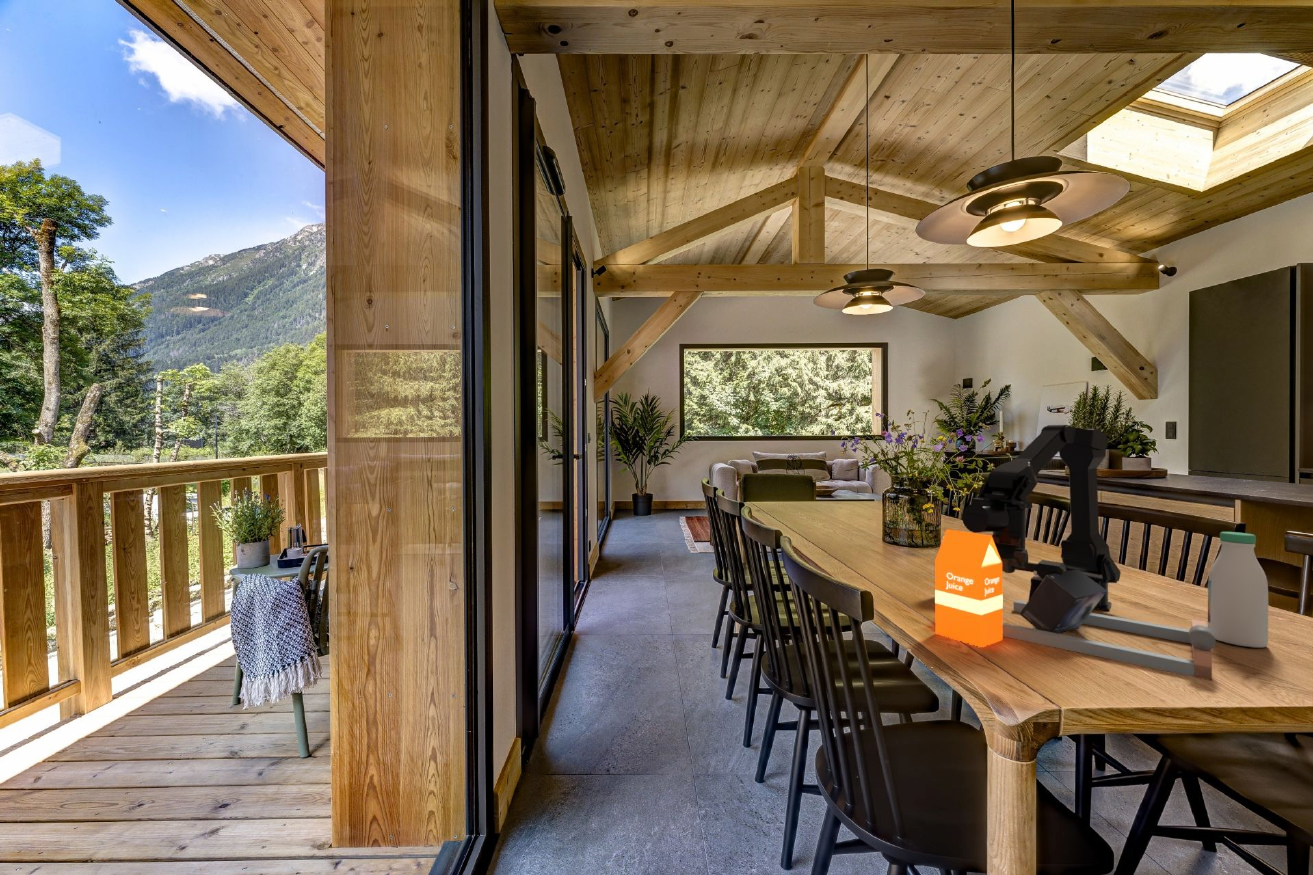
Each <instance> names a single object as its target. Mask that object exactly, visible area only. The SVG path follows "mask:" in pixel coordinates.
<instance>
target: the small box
mask: <svg viewBox="0 0 1313 875" xmlns="http://www.w3.org/2000/svg"><path fill="white" fill-rule="evenodd" d="M1106 592H1107V590H1106V589H1104V588H1103V587H1102V586H1100V585H1099V584H1097V583H1096V582H1094V581H1093V580H1092V579H1090V578H1089V577H1088V576H1086V575H1085V574H1084V573H1082V572H1081V571H1079V570H1078V569H1076V570H1071V571H1065V572H1063V573H1062V575H1059V574H1056V573H1055V574H1049V575H1046V576H1045V578H1044V579H1043V581H1042V582H1041V583H1040V585H1039V587H1038V588H1037V589H1036V591H1035V592H1034V594H1033V595H1032V597H1031V598H1030V600H1029V599H1028V600H1029V601H1028V600H1027V601H1026V602H1027V604H1026V605H1025V607H1024V608H1023V609H1022V611H1021V612H1018V613H1019V616H1021V617H1022V618H1023V619H1025V620H1026V621H1027V622H1028V623H1029V624H1030V625H1032V627H1034V629H1037V630H1042V631H1047V632H1052V633H1057V634H1063V633H1068V632H1069V633H1070V632H1072V631H1076V630H1079V629H1080V628H1081V626H1082V625H1083V624H1082V623H1083V622H1084V621H1085V619H1086V618H1087V617H1088V615H1089V614H1090V613H1092V612H1093V610H1094V609H1095V606H1096V605H1097V604H1098V602H1099V601H1100V600H1101V598H1102V597H1103V596H1104V595H1105V593H1106Z"/></svg>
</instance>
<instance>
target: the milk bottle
mask: <svg viewBox="0 0 1313 875" xmlns="http://www.w3.org/2000/svg"><path fill="white" fill-rule="evenodd" d="M1219 539H1220V542H1219V544H1221V547H1220V548H1221V549H1220V550H1219V554H1218V556H1216V557H1217V558H1216V559H1214V562H1213V563H1212V565H1211V567H1210V569H1209V574H1208V584H1207V586H1208V587H1207V627H1208V628H1209V629H1211V630H1212V632H1213V633H1214V636H1215V641H1216V640H1217V641H1219V642H1224V643H1226V644H1231V645H1235V646H1241V647H1248V648H1257V649H1258V648H1266V647H1268V645H1269V585H1268V579H1267V575H1266V572H1265V571H1264V569H1263V567H1262V566H1261V564H1260V563H1259V561H1258V559H1257V557H1256V553H1255V547H1256V543H1257V537H1256V535H1255V534H1252V533H1246V532H1245V533H1244V532H1236V531H1221V532H1220V533H1219Z"/></svg>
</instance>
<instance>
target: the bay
mask: <svg viewBox="0 0 1313 875" xmlns="http://www.w3.org/2000/svg"><path fill="white" fill-rule="evenodd" d="M1027 602H1028V601H1024V600H1018V599H1015V600H1014V601H1013V612H1016V613H1020V612H1021V611H1022V609H1023V608H1024V607H1025V605H1026V604H1027ZM1082 625H1086V626H1087V625H1088V626H1094V627H1100V628H1104V629H1110V630H1114V631H1115V630H1117V631H1120V632H1127V633H1132V634H1138V635H1143V636H1149V637H1154V638H1158V639H1164V640H1168V641H1169V640H1171V641H1175V642H1176V641H1177V642H1182V643H1186V644H1190V645H1191V649H1192V650H1191V651H1192V654H1191V655H1192V659H1188V658H1184V657H1180V656H1179V657H1178V656H1172V655H1169V654H1163V653H1157V652H1152V651H1148V650H1142V649H1138V648H1137V649H1136V648H1132V647H1127V646H1123V645H1117V644H1113V643H1106V642H1102V641H1097V640H1092V639H1087V638H1082V637H1077V636H1072V635H1065V634H1063V633H1061V634H1057V633H1052V632H1047V631H1042V630H1038V629H1036V628H1031V627H1028V626H1027V627H1026V626H1021V625H1015V624H1010V623H1007V622H1003V638H1004V637H1005V638H1010V639H1014V640H1019V641H1023V642H1028V643H1033V644H1038V645H1043V646H1047V647H1052V648H1055V649H1056V648H1057V649H1060V650H1067V651H1071V652H1076V653H1081V654H1085V655H1089V656H1095V657H1097V658H1099V657H1100V658H1103V659H1109V660H1113V661H1118V662H1123V663H1128V664H1132V665H1137V666H1141V667H1146V668H1151V669H1154V670H1155V669H1156V670H1161V671H1165V672H1171V673H1173V674H1174V673H1175V674H1178V675H1179V674H1180V675H1184V676H1189V677H1192V678H1193V677H1194V678H1198V679H1202V678H1203V680H1208V681H1212V680H1213V679H1212V677H1213V675H1212V674H1213V672H1212V670H1213V667H1212V664H1213V663H1212V662H1213V658H1212V656H1213V655H1212V650H1213V649H1215V647H1216V645H1217V643H1216V639H1215V636H1214V633H1213V632H1212V630H1211V629H1209V628H1208V621H1204V620H1198V619H1191V627H1190V628H1189V629H1188V628H1182V627H1176V626H1170V625H1164V624H1158V623H1154V622H1147V621H1142V620H1136V619H1130V618H1129V619H1128V618H1124V617H1118V616H1112V615H1106V614H1100V613H1095V612H1091V613H1090V614H1089V615H1088V617H1087V618H1086V619H1085V621H1084V622H1083V623H1082Z"/></svg>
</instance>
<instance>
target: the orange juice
mask: <svg viewBox="0 0 1313 875" xmlns="http://www.w3.org/2000/svg"><path fill="white" fill-rule="evenodd" d="M943 536H944V538H943V537H942V540H943V541H942V540H941V541H942V543H941V544H940V547H939V550H938V552H937V555H936V557H935V558H934V574H935V575H934V576H935V577H934V578H935V579H934V581H935V582H934V584H935V585H934V587H935V590H934V603H935V604H934V605H935V606H934V608H935V609H934V610H935V614H934V615H935V619H934V620H935V623H934V624H935V626H934V627H935V635H938V634H939V635H938V636H942V637H944V636H945V638H948V637H949V638H948V639H951V640H955V641H958V642H960V641H962V642H961V643H964V644H967V643H969V644H968V645H970V646H973V645H975V646H974V647H976V646H978V647H977V648H980V647H983V648H985V647H987V645H988V646H991V645H992V644H996V643H998V642H1001V641H1003V638H1004V636H1003V623H1004V622H1003V608H1004V602H1003V601H1004V600H1003V599H1004V598H1003V595H1004V594H1003V571H1002V561H1001V558H1000V556H999V553H998V551H997V548H996V546H995V543H994V541H993V538H992V535H989V534H982V533H974V532H970V531H969V532H968V531H961V530H954V529H946V530H945V533H944V535H943Z"/></svg>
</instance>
